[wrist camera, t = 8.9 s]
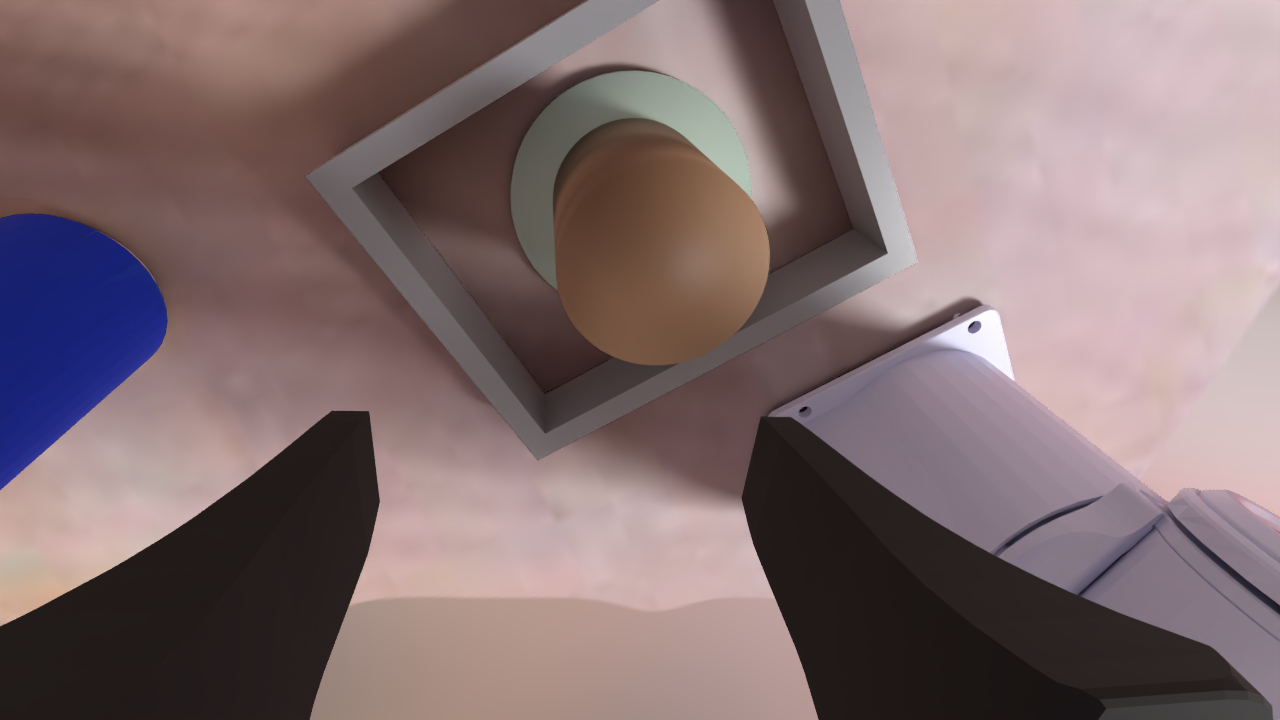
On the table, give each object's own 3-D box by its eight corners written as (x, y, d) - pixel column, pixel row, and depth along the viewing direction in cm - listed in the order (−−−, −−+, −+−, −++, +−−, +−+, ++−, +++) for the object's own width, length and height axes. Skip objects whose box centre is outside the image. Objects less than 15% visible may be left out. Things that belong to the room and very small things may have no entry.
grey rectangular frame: (537, 419, 24) (537, 460, 21) (333, 156, 18) (304, 176, 16) (881, 236, 22) (918, 262, 20) (766, -113, 16) (799, -132, 14)
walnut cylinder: (605, 303, 21) (625, 398, 16) (520, 174, 19) (511, 237, 14) (736, 227, 20) (800, 301, 15) (665, 84, 18) (713, 113, 13)
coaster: (588, 345, 22) (589, 350, 22) (460, 153, 19) (459, 156, 18) (781, 241, 21) (785, 245, 21) (686, 17, 18) (689, 17, 17)
